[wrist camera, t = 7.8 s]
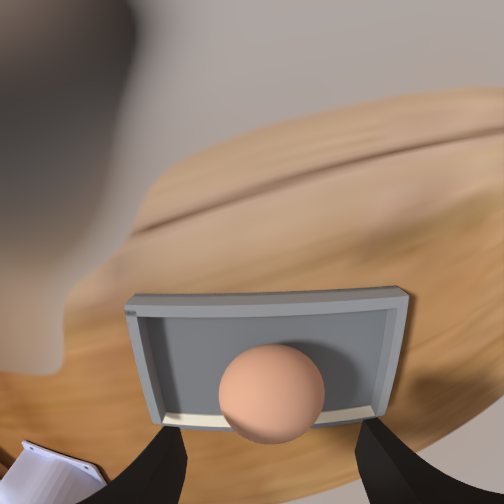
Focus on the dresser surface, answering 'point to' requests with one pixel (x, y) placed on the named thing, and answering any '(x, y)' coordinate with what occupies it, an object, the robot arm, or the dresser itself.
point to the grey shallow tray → (266, 332)
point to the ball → (271, 394)
